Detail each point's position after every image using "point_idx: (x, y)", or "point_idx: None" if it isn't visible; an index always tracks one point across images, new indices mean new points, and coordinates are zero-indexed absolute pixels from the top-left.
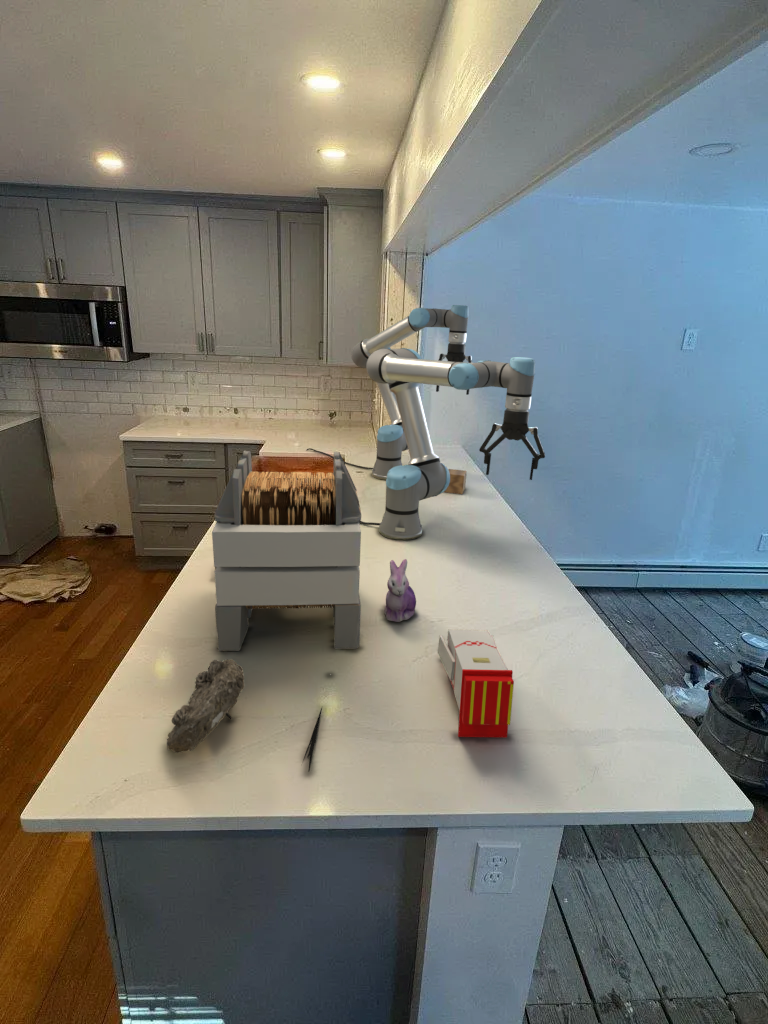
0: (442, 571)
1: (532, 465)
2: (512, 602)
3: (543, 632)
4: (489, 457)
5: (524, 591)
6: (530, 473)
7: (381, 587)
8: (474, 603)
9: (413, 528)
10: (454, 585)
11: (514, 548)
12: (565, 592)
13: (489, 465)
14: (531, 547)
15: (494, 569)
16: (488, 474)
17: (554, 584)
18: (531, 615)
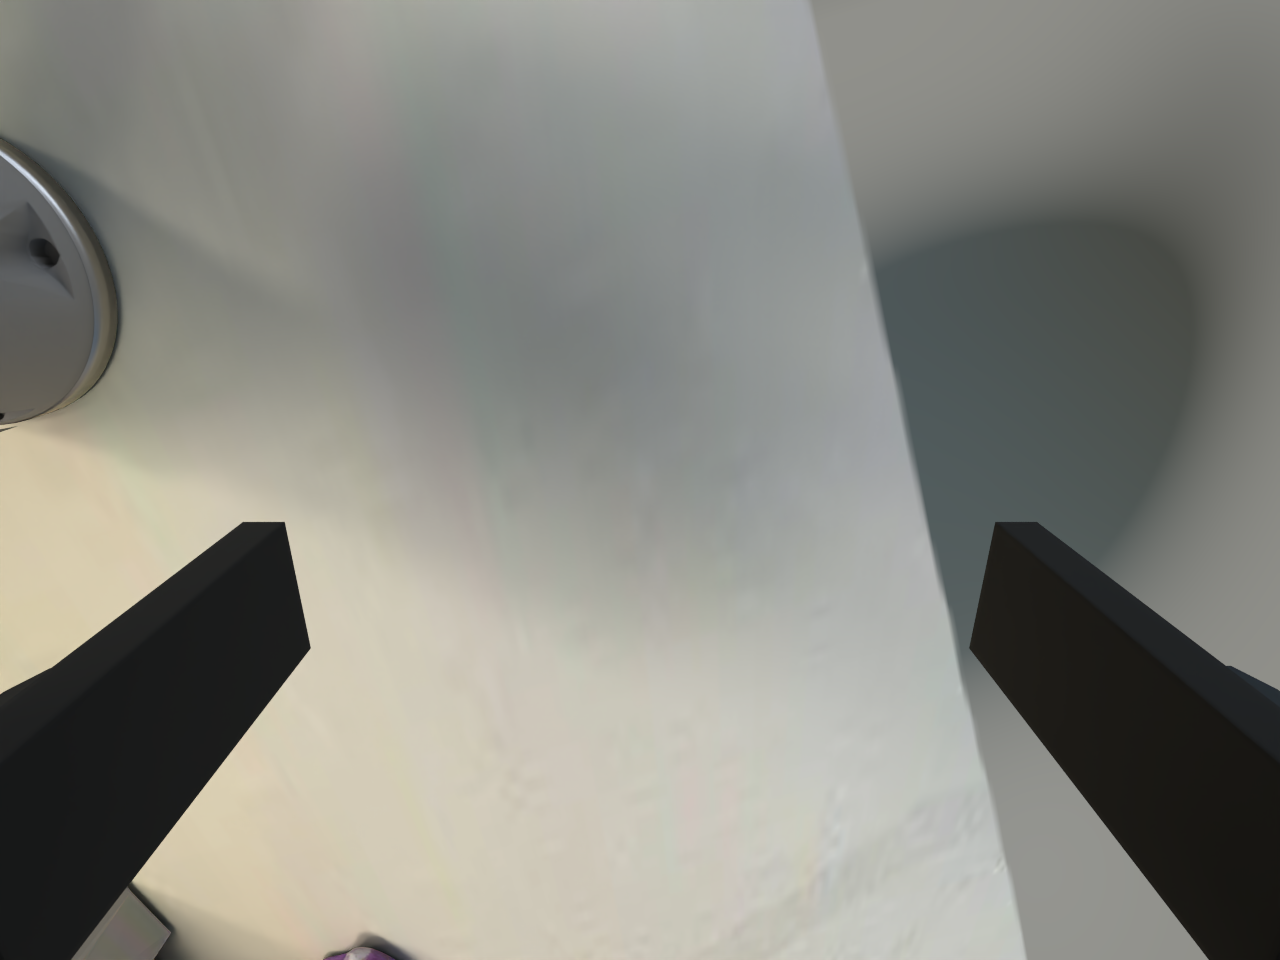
0: (407, 686)
1: (1155, 854)
2: (725, 828)
3: (822, 951)
4: (64, 938)
5: (772, 742)
6: (1027, 720)
7: (239, 867)
8: (590, 869)
9: (39, 373)
10: (490, 779)
11: (727, 271)
12: (945, 700)
13: (214, 744)
14: (838, 209)
15: (633, 592)
16: (305, 632)
17: (909, 647)
18: (790, 882)
